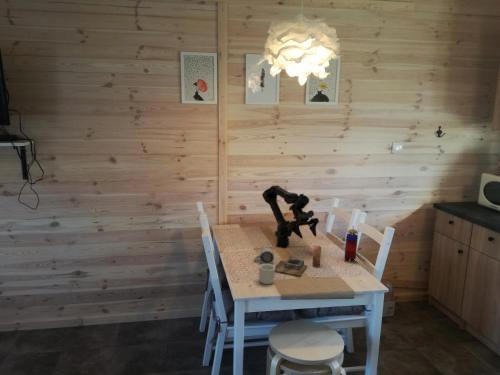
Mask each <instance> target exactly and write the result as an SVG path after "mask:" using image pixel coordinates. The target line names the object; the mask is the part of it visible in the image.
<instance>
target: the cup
mask: <svg viewBox="0 0 500 375" xmlns="http://www.w3.org/2000/svg"><path fill="white" fill-rule="evenodd" d="M275 266H276V265H273V264H272V263H271V264H263V263H261V264H259V266H258V275H259V281H260V283H261V284H263V285H271V284H273V282H274V278H275V273H276V272H275Z"/></svg>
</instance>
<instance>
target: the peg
mask: <svg viewBox="0 0 500 375" xmlns="http://www.w3.org/2000/svg"><path fill="white" fill-rule="evenodd" d="M312 250H313V251H312V264H311V266H312V267H313V268H315V269H316V268H320V266H321V257H322V256H321V255H322V254H321V253H322V246H321V245H314V246H313V249H312Z"/></svg>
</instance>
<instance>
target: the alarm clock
mask: <svg viewBox="0 0 500 375" xmlns="http://www.w3.org/2000/svg"><path fill="white" fill-rule="evenodd" d="M354 227H355V226H354V225H352V228H351V229H348V230H347V233H346V236H345V237H342V241H343V242H345V243H341V245H345V246H344V247H342V249H343V250H344V259H348V262H349V263H351V260H356V258H357V249H358V239H359V235H358V234H359V231H357V230H356V229H354Z"/></svg>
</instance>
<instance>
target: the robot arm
mask: <svg viewBox="0 0 500 375" xmlns="http://www.w3.org/2000/svg"><path fill="white" fill-rule="evenodd" d="M278 197H281V198H282V199H283V200H284V202H285V203H286V204H287V205H289V210H288V211H291V212H292V214H293V217H292V218H293V220H291V221H290V220H286V219H285V217H284V215H283V213H282V211H281V208H280V206H279V203H278V202H277V200H278ZM262 198H263V200H264V202H265V203H267V204H268V205H269V207H270V209H271V211H272V213H273V217H274V218H275V221H276V223H277V226H276V230H275V232H274V236H275V237H277V238H276V246H275V247H277V248H283V249H286V248H288V247H289V246H290V238H289V237H291V236H292V234H293V233H294V234H295V235H296V236H298V238H300V239H302V240H303V237H304V236H303V234H302V231H301V230H300V227H302V226H308V227H309V230H310V231H311V233H312V235H313V237H317V225H318V224H319V223H320V219H319V218H318V217H314V216H315V213H314V210H308V212H306V211H303V209H305V207H307V205H308V204H309V203H310V198H309V197H308V196H306V195H305V194H304V193H299V194H298V193H297V192H296V193H295V192H290V191H288V190H286V189H284V188H282V187H281V186H280V185H278V184H277V185H272V186H270V187H269V188H267V189H265V190H264V191H263V192H262Z"/></svg>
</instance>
